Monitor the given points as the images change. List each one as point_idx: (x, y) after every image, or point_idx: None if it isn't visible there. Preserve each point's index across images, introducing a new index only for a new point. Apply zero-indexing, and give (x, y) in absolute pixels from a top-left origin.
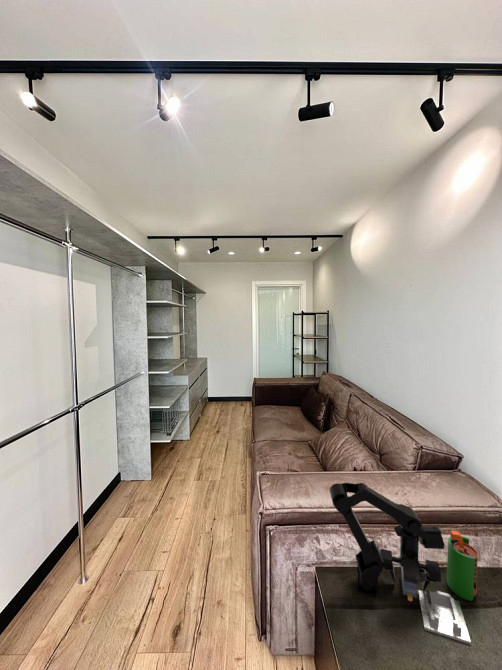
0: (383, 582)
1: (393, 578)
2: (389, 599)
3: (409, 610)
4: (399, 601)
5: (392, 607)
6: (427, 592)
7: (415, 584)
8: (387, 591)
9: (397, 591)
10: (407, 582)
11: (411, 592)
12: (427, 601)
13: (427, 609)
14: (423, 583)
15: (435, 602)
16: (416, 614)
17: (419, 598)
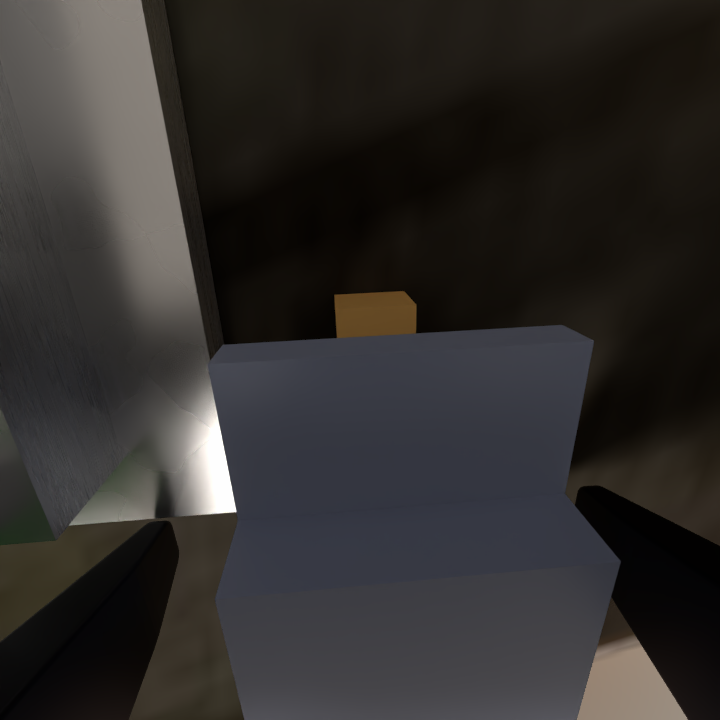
0: (697, 449)
1: (688, 544)
2: (703, 185)
3: (399, 78)
4: (543, 212)
5: (704, 14)
6: (9, 505)
7: (242, 600)
8: (687, 328)
9: None
10: (495, 570)
11: (371, 337)
12: (9, 300)
13: (46, 163)
14: (97, 667)
15: None
16: (276, 30)
17: None
